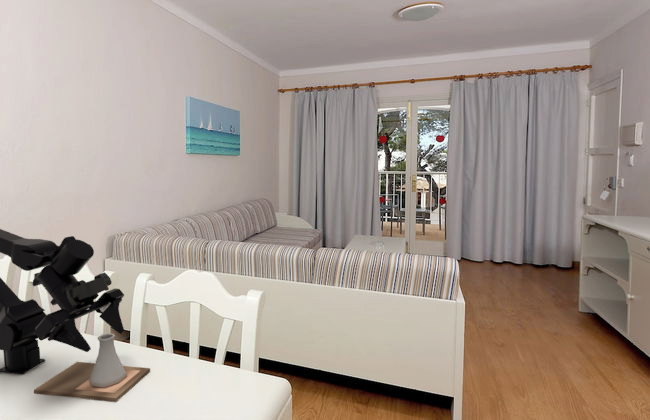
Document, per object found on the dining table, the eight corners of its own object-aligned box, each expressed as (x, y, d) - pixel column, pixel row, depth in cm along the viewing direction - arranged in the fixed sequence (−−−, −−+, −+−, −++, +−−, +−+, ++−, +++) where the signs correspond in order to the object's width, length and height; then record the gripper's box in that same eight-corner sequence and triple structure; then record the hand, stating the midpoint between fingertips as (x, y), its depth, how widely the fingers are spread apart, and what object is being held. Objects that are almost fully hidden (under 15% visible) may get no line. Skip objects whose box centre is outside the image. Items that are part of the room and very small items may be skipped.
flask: (103, 392, 81) (100, 346, 80) (82, 382, 84) (79, 339, 83) (133, 375, 88) (132, 333, 86) (113, 367, 91) (111, 327, 90)
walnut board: (34, 393, 82) (33, 389, 82) (77, 364, 94) (77, 361, 94) (116, 401, 79) (115, 397, 79) (150, 371, 91) (150, 367, 91)
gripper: (42, 276, 75) (90, 337, 74) (116, 255, 93) (156, 304, 92) (14, 310, 78) (60, 370, 77) (91, 283, 96) (130, 331, 95)
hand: (106, 341), depth 85 cm, fingers open, 9 cm apart
